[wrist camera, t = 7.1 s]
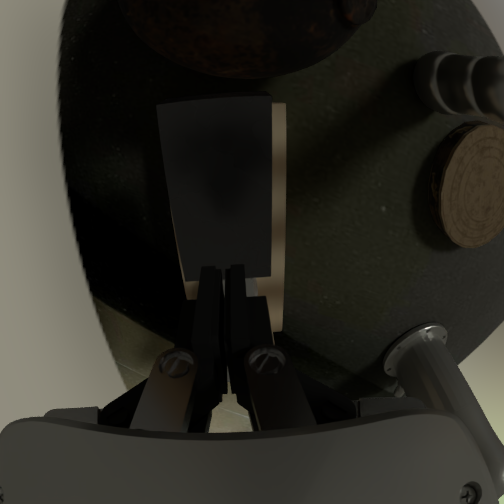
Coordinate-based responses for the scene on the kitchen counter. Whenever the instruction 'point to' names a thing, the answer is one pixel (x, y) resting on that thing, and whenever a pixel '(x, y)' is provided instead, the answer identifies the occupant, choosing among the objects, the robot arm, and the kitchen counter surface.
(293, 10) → the glass bottle
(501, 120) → the plastic bottle
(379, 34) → the kitchen counter surface
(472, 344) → the kitchen counter surface
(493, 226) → the brown round flat disc
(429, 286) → the kitchen counter surface
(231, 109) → the lever
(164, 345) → the kitchen counter surface
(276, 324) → the nutcracker base
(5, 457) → the robot arm
